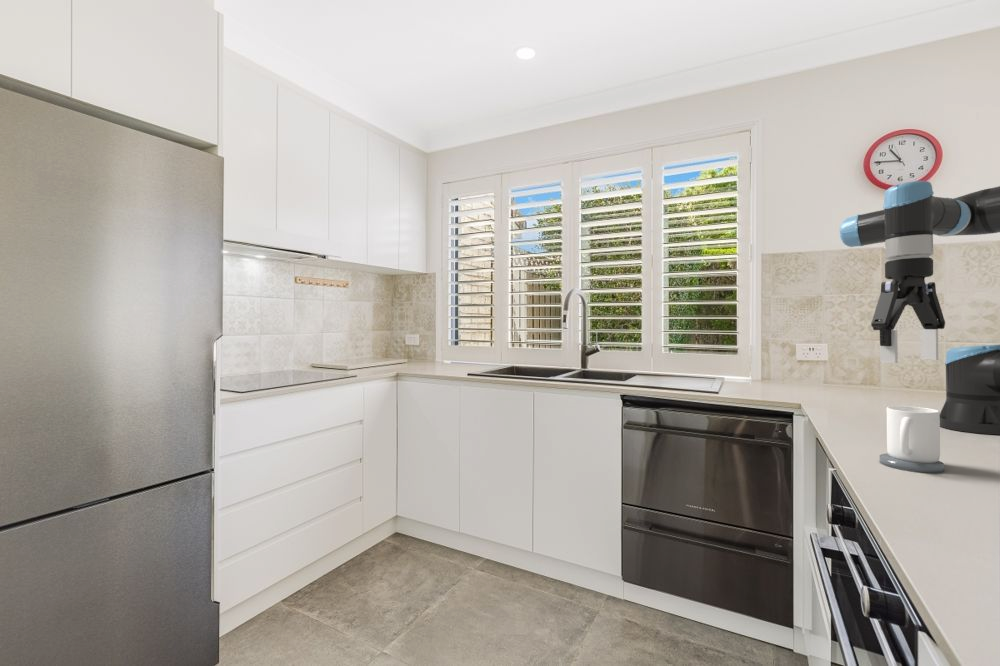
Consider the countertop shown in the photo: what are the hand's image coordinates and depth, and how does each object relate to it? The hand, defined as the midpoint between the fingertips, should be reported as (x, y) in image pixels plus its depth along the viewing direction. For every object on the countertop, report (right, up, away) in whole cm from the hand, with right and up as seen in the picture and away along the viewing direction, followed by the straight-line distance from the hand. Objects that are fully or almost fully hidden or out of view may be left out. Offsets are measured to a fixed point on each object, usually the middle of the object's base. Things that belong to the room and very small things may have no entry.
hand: (909, 361), depth 96 cm
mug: (0, -21, 0) cm, 21 cm away
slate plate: (0, -22, 0) cm, 22 cm away
